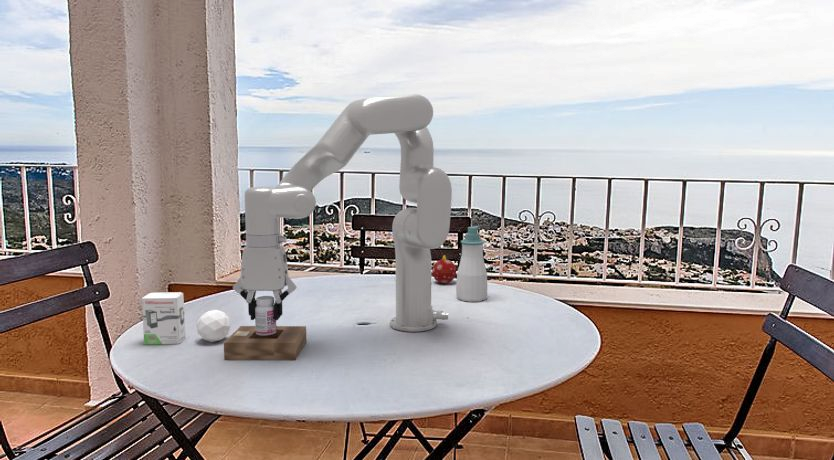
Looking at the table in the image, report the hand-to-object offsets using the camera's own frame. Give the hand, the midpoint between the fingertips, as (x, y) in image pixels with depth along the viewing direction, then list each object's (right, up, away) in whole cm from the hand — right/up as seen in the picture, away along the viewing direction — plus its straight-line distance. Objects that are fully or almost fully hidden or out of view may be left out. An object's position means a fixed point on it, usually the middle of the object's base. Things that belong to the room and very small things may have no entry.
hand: (265, 317), depth 131 cm
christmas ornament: (+45, +1, +69) cm, 82 cm away
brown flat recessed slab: (0, -8, +1) cm, 8 cm away
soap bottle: (+53, -2, +48) cm, 71 cm away
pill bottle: (0, -4, +1) cm, 4 cm away
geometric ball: (-15, -7, +8) cm, 18 cm away
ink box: (-27, -7, +8) cm, 29 cm away
